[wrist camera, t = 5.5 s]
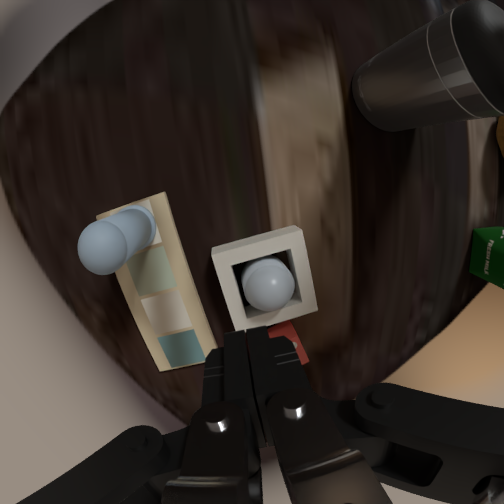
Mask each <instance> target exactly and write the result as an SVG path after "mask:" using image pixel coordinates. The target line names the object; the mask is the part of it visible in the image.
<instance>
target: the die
mask: <svg viewBox="0 0 504 504" xmlns="http://www.w3.org/2000/svg"><path fill="white" fill-rule="evenodd" d="M267 330H268V334H269V337H270V338H274V337H278V336H283V335H284V336H285V337H287V338H288V339H289V340H291V341H292V342H293V344H294V346H295V349H296V352H297V354H298V356H299V360H300V361H301V364H302V365H303V364H305V363H307V362H309V359H308V357H307V355H306V352H305V350H304V348H303V346H302V344H301V342H300V339H299V337H298V335H297V333H296V331H295V329H294V327H293V325H292V323H291V321H290V319H289V320H286V321H284V322H282V323H280V324H277V325H275V326H273V327H271V328H269V329H267Z"/></svg>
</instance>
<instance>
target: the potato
mask: <svg viewBox="0 0 504 504" xmlns="http://www.w3.org/2000/svg"><path fill="white" fill-rule="evenodd" d="M496 137H497V141H498V144H499V147H500V150H501V153H502V155H503V158H504V116H499V120H498V125H497V130H496Z"/></svg>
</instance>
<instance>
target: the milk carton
mask: <svg viewBox="0 0 504 504" xmlns="http://www.w3.org/2000/svg"><path fill="white" fill-rule="evenodd" d="M469 272H470V273H472V274H474V275H476V276H478V277H480V278H482V279H484V280H486V281H488V282H490V283H493V284H495V285H497V286H498V287H500V288H502V289H504V227H487V228H477V229H473V241H472V251H471V260H470V268H469Z"/></svg>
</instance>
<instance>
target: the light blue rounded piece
mask: <svg viewBox="0 0 504 504" xmlns="http://www.w3.org/2000/svg"><path fill="white" fill-rule="evenodd" d="M241 281H242V286H243V290H244V294H245V297H246V299H247V301H248V302H249V303H250V304H251V305H252V306H253V307H255V308H256V309H259V310H263V311H276V310H279V309H281V308H282V307H284V306H285V305H286V304H287V303H288V302H289V300H290V299H291V297H292V295H293V292H294V287H295V283H294V279H293V276H292V274H291V273H290V271H289V270H288V269H287V267H286V266H285V265H284V263H283V262H282V261H281V260H280V259H279V258H277V257H275V256H273V255H266V256H263V257H259V258H256V259H252V260H249V261H248V262H247V263H246V265H245V266H244V268H243V270H242V274H241Z"/></svg>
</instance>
